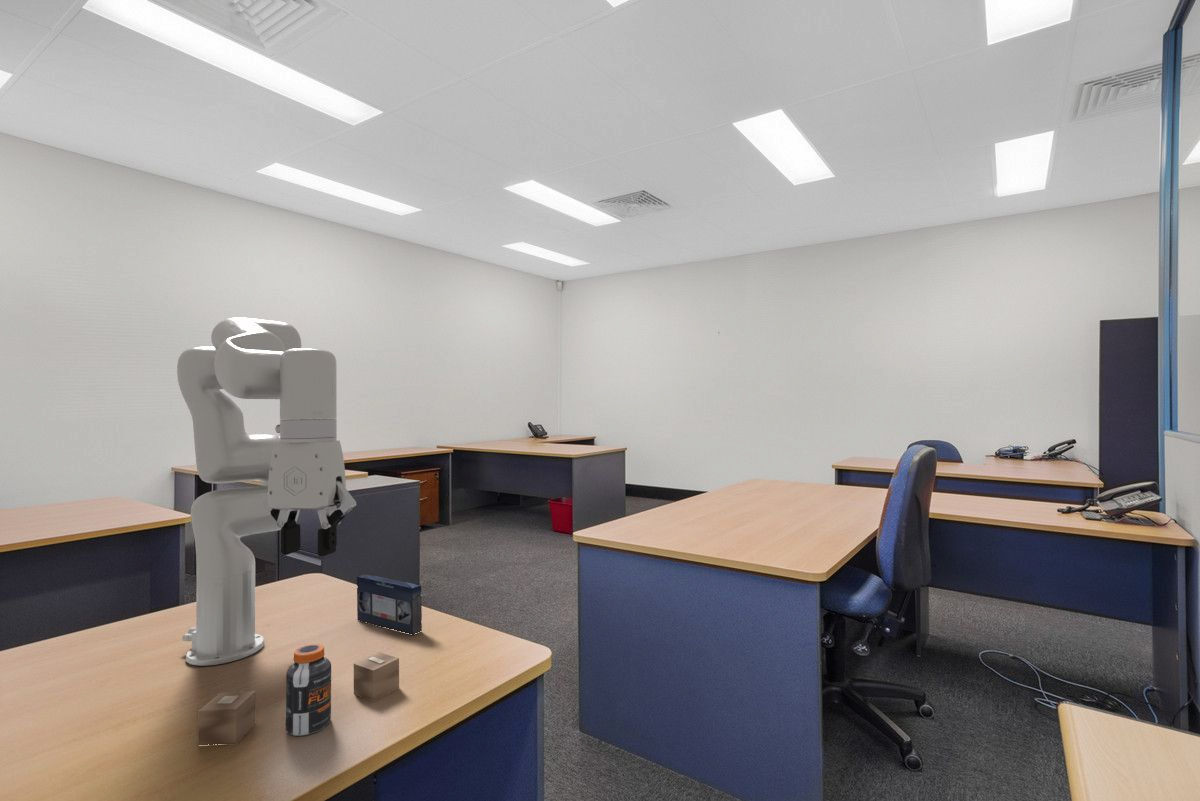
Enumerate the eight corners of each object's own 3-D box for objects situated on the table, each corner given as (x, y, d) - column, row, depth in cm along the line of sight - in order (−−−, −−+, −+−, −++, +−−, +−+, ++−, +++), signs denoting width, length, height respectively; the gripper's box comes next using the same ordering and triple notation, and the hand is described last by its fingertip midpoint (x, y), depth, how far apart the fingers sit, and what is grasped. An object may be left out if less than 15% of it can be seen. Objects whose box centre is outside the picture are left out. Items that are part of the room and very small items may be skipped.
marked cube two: (353, 694, 90) (353, 662, 90) (379, 681, 95) (379, 651, 95) (373, 702, 88) (373, 669, 88) (399, 688, 92) (399, 657, 92)
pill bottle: (311, 739, 78) (311, 658, 78) (275, 735, 79) (275, 655, 79) (339, 716, 84) (339, 641, 84) (305, 712, 85) (306, 638, 85)
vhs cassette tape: (356, 620, 123) (356, 576, 123) (368, 616, 125) (367, 572, 126) (411, 637, 113) (410, 589, 113) (422, 632, 116) (422, 585, 116)
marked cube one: (198, 747, 76) (198, 709, 76) (220, 726, 81) (220, 691, 81) (235, 745, 77) (236, 707, 77) (255, 724, 82) (255, 689, 82)
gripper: (238, 433, 80) (238, 558, 80) (344, 432, 77) (344, 562, 77) (277, 431, 87) (277, 545, 87) (375, 430, 84) (375, 549, 84)
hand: (308, 552), depth 82 cm, fingers open, 5 cm apart
